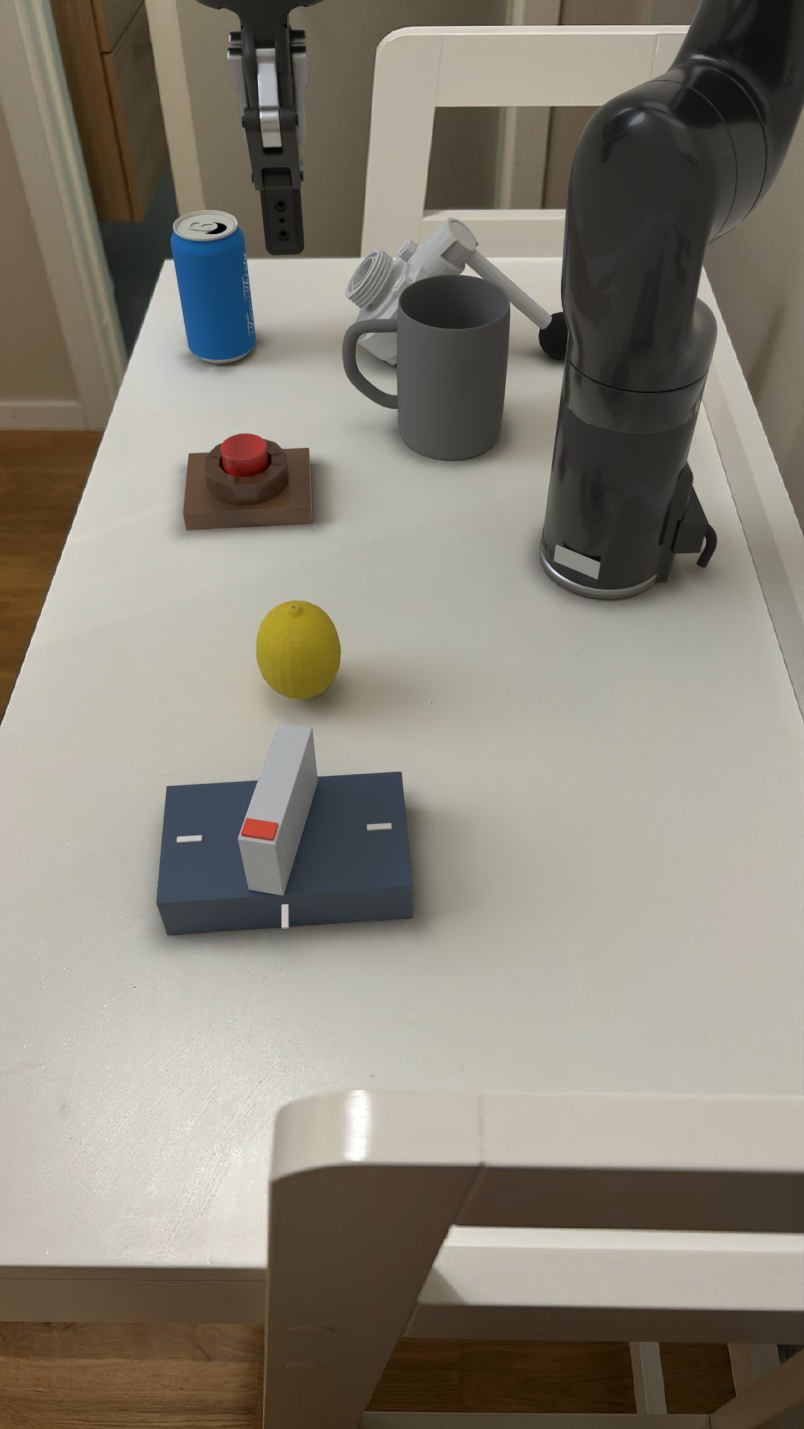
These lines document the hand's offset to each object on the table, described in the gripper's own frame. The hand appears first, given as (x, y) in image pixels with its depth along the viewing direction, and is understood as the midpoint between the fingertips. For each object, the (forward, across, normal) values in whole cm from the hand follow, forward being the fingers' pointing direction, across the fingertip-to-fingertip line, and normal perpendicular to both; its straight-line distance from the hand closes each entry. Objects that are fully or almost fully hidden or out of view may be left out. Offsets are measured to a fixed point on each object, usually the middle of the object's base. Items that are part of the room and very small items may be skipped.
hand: (285, 248), depth 60 cm
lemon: (+25, -12, +1) cm, 28 cm away
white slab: (+21, -26, +2) cm, 34 cm away
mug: (+25, +18, -10) cm, 33 cm away
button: (+22, +10, +5) cm, 25 cm away
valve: (+25, +31, -15) cm, 43 cm away
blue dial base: (+25, -26, +2) cm, 36 cm away
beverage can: (+25, +33, +8) cm, 42 cm away
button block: (+25, +10, +5) cm, 27 cm away
